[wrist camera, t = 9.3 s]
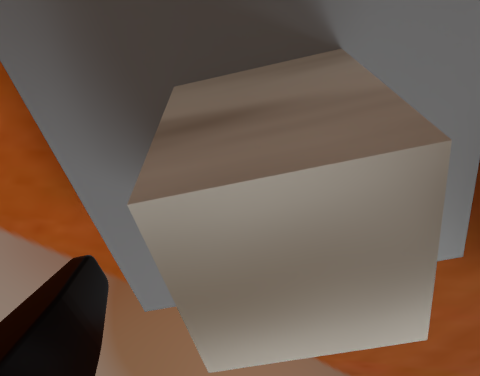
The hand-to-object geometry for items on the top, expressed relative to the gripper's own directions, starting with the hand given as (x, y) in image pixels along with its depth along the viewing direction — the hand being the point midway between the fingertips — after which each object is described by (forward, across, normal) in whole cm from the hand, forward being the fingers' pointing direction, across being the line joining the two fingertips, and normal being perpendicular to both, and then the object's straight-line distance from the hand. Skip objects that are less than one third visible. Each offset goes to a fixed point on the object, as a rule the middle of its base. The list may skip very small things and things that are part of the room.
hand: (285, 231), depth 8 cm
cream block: (+4, 0, 0) cm, 5 cm away
